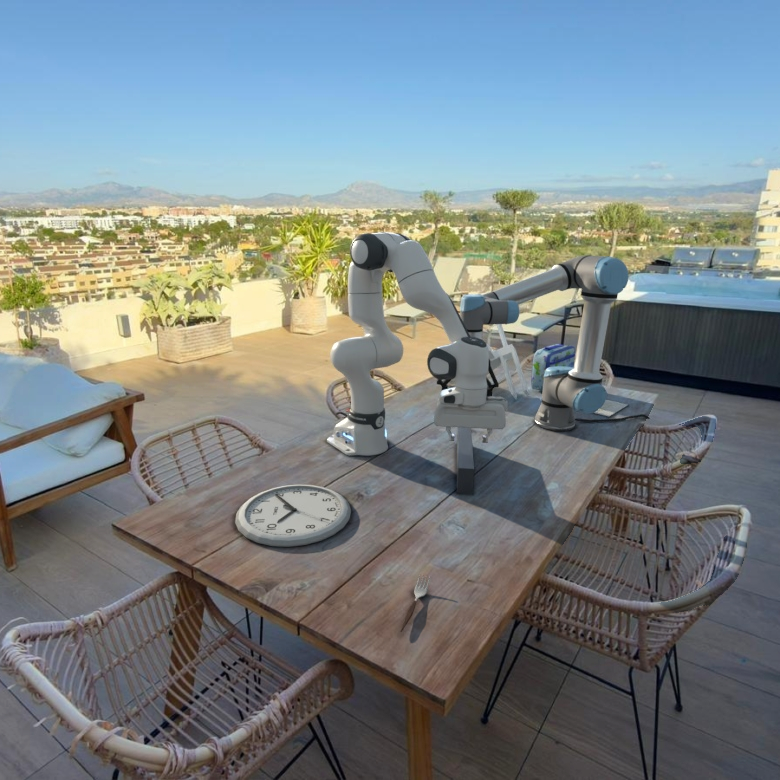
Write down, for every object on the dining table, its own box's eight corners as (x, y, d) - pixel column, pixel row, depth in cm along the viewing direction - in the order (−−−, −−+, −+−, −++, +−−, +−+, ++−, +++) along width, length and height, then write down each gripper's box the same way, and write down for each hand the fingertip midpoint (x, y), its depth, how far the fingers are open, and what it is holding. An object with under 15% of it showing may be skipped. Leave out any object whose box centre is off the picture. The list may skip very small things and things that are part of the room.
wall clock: (351, 538, 125) (223, 542, 122) (351, 544, 125) (223, 548, 123) (350, 480, 153) (246, 482, 151) (350, 485, 154) (246, 487, 151)
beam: (456, 444, 185) (457, 423, 182) (469, 444, 184) (470, 423, 182) (456, 493, 151) (458, 468, 148) (472, 494, 150) (474, 469, 148)
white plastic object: (461, 429, 252) (437, 405, 227) (444, 352, 274) (420, 323, 250) (535, 404, 240) (518, 377, 215) (510, 326, 262) (492, 293, 237)
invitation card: (608, 416, 214) (573, 407, 224) (608, 416, 214) (573, 408, 224) (628, 404, 229) (594, 396, 238) (628, 405, 229) (594, 397, 238)
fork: (394, 632, 98) (394, 623, 98) (419, 581, 113) (419, 573, 112) (407, 636, 97) (407, 627, 97) (430, 584, 112) (431, 576, 111)
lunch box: (547, 396, 238) (552, 351, 232) (526, 391, 246) (531, 347, 239) (574, 385, 256) (579, 343, 250) (554, 380, 263) (559, 340, 257)
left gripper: (507, 393, 148) (503, 439, 152) (435, 390, 151) (433, 435, 155) (509, 400, 142) (505, 447, 146) (434, 397, 145) (432, 443, 149)
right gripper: (508, 342, 171) (502, 404, 177) (431, 339, 173) (429, 400, 180) (510, 347, 164) (504, 411, 170) (430, 344, 166) (428, 407, 173)
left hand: (468, 441), depth 151 cm, fingers open, 8 cm apart
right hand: (466, 405), depth 175 cm, fingers open, 13 cm apart
